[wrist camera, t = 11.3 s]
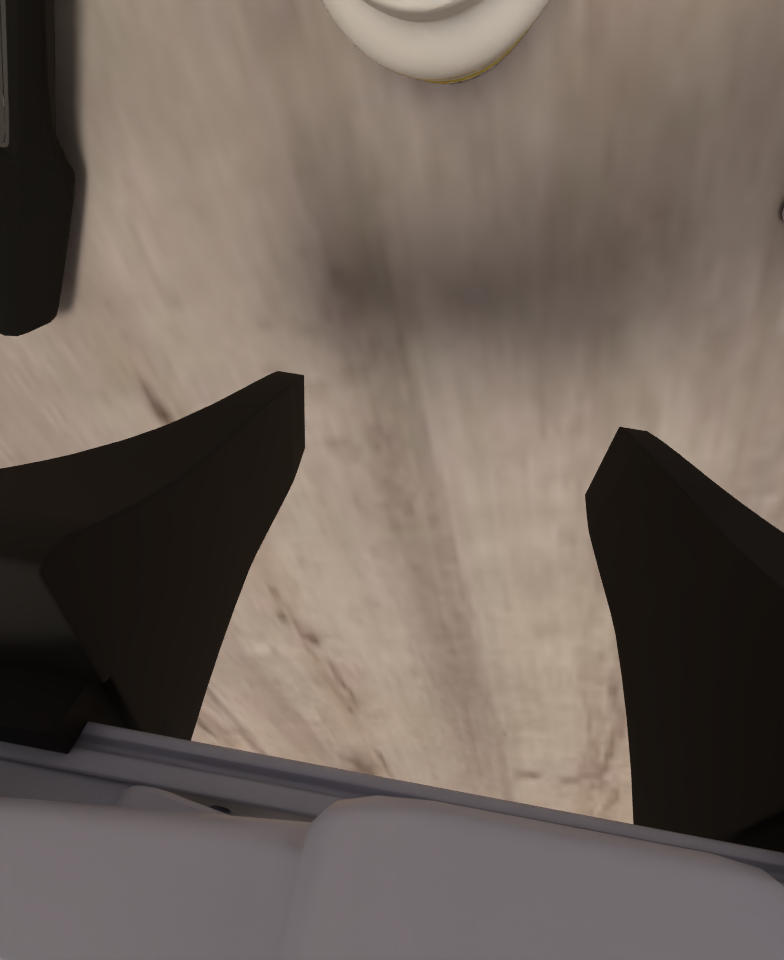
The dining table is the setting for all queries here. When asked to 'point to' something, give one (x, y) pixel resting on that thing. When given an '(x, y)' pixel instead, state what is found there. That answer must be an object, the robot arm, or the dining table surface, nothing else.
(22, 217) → the electric trimmer
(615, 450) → the robot arm
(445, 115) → the dining table surface
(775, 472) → the dining table surface
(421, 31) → the supplement bottle
